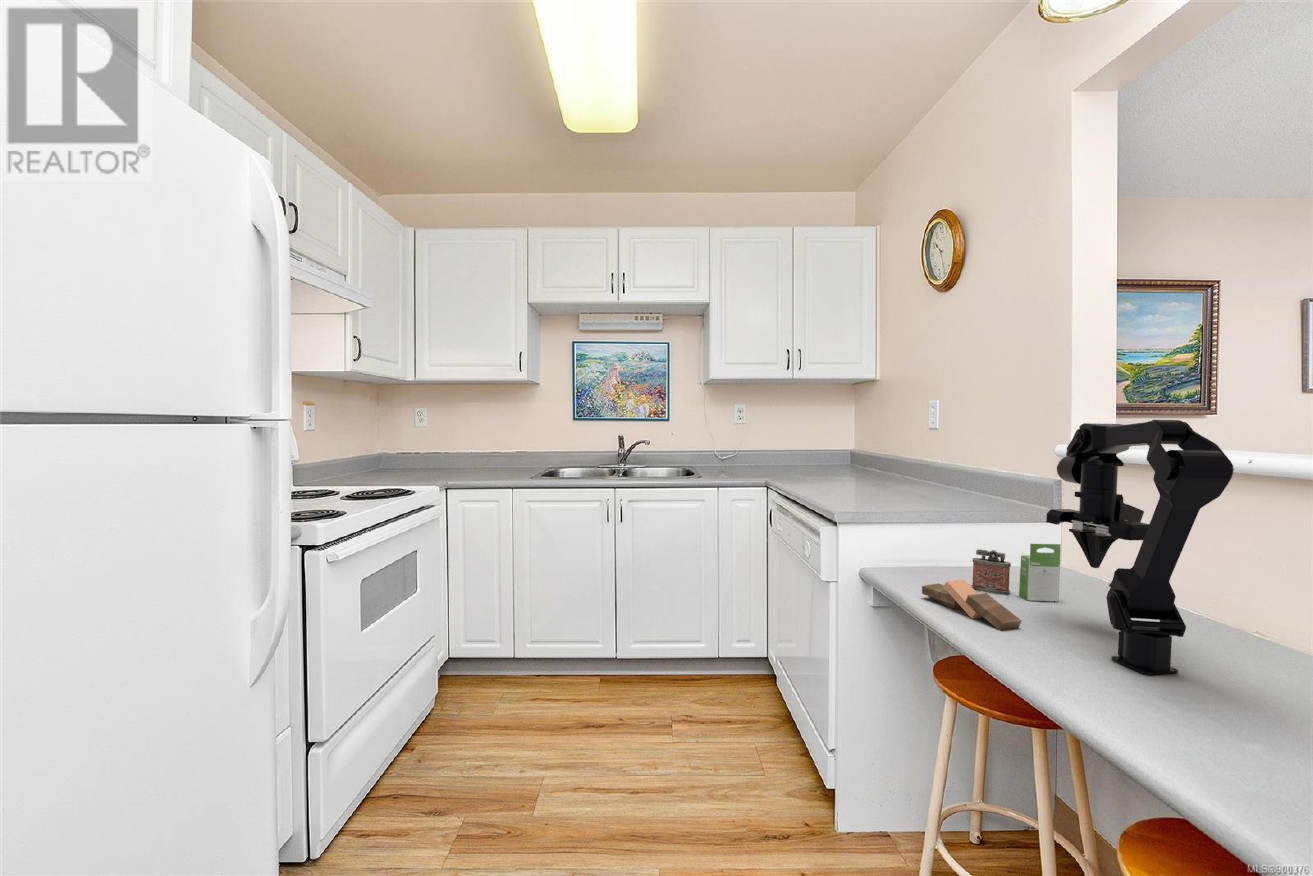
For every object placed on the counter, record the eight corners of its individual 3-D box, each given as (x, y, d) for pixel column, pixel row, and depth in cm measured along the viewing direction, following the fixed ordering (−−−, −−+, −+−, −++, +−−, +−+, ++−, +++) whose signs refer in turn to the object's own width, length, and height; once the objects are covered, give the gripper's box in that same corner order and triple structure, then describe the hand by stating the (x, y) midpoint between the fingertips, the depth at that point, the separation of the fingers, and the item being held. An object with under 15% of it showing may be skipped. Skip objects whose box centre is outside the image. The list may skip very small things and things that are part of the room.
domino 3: (971, 618, 124) (943, 587, 131) (990, 616, 125) (961, 585, 133) (975, 612, 123) (946, 581, 130) (994, 610, 124) (964, 579, 132)
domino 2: (974, 602, 131) (947, 590, 140) (953, 603, 130) (928, 591, 139) (973, 610, 131) (947, 598, 140) (953, 611, 130) (927, 599, 139)
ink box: (1049, 597, 140) (1052, 540, 139) (1059, 602, 136) (1061, 544, 135) (1018, 596, 141) (1020, 539, 140) (1027, 601, 137) (1029, 543, 136)
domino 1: (971, 594, 131) (938, 583, 139) (954, 597, 129) (922, 586, 137) (971, 602, 131) (938, 591, 139) (954, 605, 129) (921, 593, 137)
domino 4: (1021, 620, 118) (986, 593, 126) (1002, 623, 117) (967, 595, 125) (1018, 627, 119) (983, 600, 127) (999, 630, 117) (965, 602, 125)
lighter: (1009, 592, 143) (1011, 551, 143) (1009, 595, 140) (1011, 554, 140) (972, 586, 148) (973, 546, 147) (970, 590, 145) (972, 549, 144)
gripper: (1183, 494, 107) (1178, 579, 108) (1092, 482, 126) (1089, 555, 126) (1130, 494, 106) (1125, 581, 106) (1045, 482, 124) (1042, 556, 125)
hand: (1094, 567), depth 116 cm, fingers closed
